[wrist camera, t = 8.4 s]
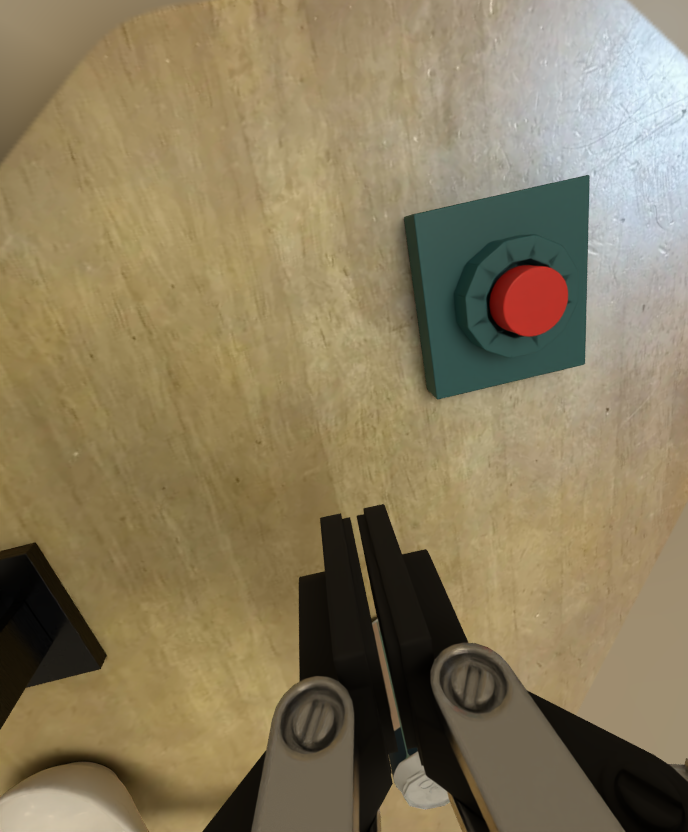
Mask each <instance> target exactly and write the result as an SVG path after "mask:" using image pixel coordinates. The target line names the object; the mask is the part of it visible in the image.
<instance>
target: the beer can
mask: <svg viewBox="0 0 688 832" xmlns="http://www.w3.org/2000/svg"><path fill="white" fill-rule="evenodd" d="M372 626H373V631H374V635H375V640H376V645H377V650H378V655H379V660H380V665H381V669H382V674H383V679H384V684H385V689H386V694H387V699H388V703H389V708H390V713H391V718H392V723H393V728H394V733H395V737H396V742H397V747H398V752H394V753H390V754H389V759H390V764H391V769H392V774H393V779H394V783H395V785H396V787H397V788H398V789H399V790H400V791H401V792H402V794H403V796H404V798H405V800H406V801H407V802H408V804H409V805H410V806H412V807H416V808H421V809H430V808H435V807H441V806H444V805H446V804H448V803H449V802H450V801H449V797H448V794H447V791H446V790H444V789H443V788H442V787H440V786H439V785H438V784H436V783H435V782H434V781H432V780H431V779H430V778H428V777H427V776H426V775H425V770H424V766H421V762H420V758H419V754H418V750H417V747H416V748H411V749H407V748H406V744H405V739H404V735H403V730H402V726H401V721H400V717H399V712H398V708H397V703H396V699H395V694H394V690H393V685H392V681H391V676H390V672H389V668H388V663H387V659H386V654H385V650H384V645H383V641H382V636H381V632H380V627H379V623H378V619H376V620H375V621H374V622H373V623H372Z"/></svg>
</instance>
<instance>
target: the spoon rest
mask: <svg viewBox="0 0 688 832" xmlns="http://www.w3.org/2000/svg"><path fill="white" fill-rule="evenodd" d="M0 832H149V831H148V829H147V827H146V825H145V824H144V822H143V820H142V818H141V816H140V814H139V812H138V810H137V808H136V805H135V803H134V801H133V799H132V797H131V795H130V794H129V792H128V790H127V789H126V787H125V786H124V785H123V783H122V782H121V781H120V780H119V779H118V777H117V775H116V774H115V773H114V772H113V771H112V770H110V769H109V768H107V767H105V766H103V765H100V764H97V763H92V762H74V763H70V764H66V765H60V766H55V767H52V768H49V769H45V770H43V771H40V772H38V773H36V774H34V775H32V776H30V777H28V778H26V779H25V780H23V781H21V782H20V783H18V784H17V785H15V786H14V787H12V788H11V789H9V790H8V791H7V792H6V793H4V794H3V795H2V796H1V797H0Z"/></svg>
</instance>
